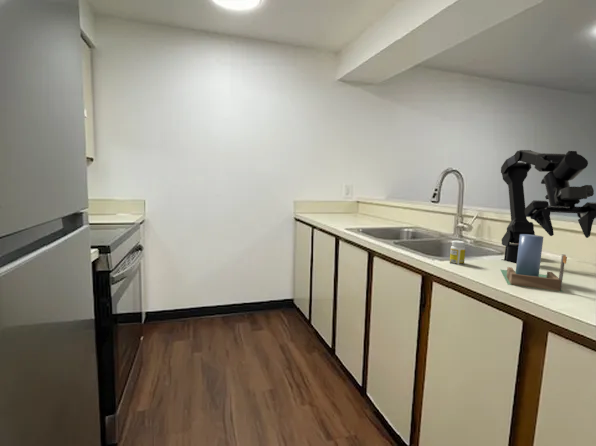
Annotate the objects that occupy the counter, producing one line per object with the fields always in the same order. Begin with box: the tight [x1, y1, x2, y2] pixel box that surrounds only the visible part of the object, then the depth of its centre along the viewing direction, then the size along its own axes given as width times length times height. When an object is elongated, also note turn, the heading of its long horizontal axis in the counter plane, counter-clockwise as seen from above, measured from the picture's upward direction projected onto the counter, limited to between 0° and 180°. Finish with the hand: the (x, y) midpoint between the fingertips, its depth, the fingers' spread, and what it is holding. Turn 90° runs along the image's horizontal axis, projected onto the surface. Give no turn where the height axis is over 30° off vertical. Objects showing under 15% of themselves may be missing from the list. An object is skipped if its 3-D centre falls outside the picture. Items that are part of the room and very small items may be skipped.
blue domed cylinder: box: [515, 234, 544, 277], centre depth 106 cm, size 6×6×13 cm
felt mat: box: [500, 269, 564, 293], centre depth 104 cm, size 19×13×1 cm
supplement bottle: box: [449, 240, 466, 266], centre depth 123 cm, size 5×5×8 cm
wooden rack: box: [506, 254, 568, 292], centre depth 99 cm, size 12×12×10 cm
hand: (569, 236), depth 97 cm, fingers open, 9 cm apart
